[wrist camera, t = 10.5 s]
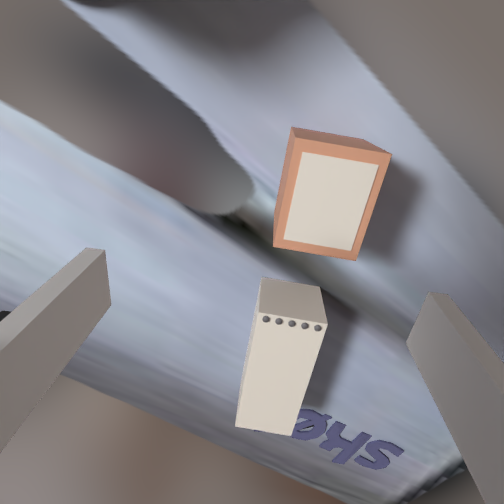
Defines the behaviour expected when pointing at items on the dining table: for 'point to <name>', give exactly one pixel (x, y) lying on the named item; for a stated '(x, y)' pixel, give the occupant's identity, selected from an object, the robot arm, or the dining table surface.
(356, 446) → the signage
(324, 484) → the dining table surface
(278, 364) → the pad
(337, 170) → the tan box
